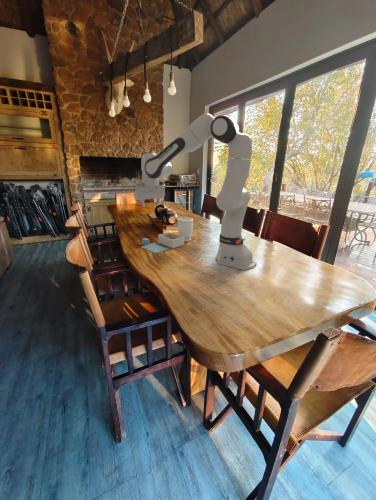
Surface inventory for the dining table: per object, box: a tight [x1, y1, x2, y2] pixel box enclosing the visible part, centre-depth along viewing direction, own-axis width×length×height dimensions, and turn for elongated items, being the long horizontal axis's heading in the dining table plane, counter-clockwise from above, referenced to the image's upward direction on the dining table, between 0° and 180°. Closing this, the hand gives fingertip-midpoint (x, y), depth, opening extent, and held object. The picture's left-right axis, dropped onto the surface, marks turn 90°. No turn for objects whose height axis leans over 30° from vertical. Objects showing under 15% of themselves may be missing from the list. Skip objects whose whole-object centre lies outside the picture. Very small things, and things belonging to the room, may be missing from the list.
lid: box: [140, 237, 170, 254], centre depth 146 cm, size 19×11×4 cm, turn 46°
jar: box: [177, 216, 194, 242], centre depth 162 cm, size 11×10×15 cm
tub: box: [157, 231, 185, 249], centre depth 153 cm, size 14×10×6 cm
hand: (150, 206), depth 143 cm, fingers open, 8 cm apart
